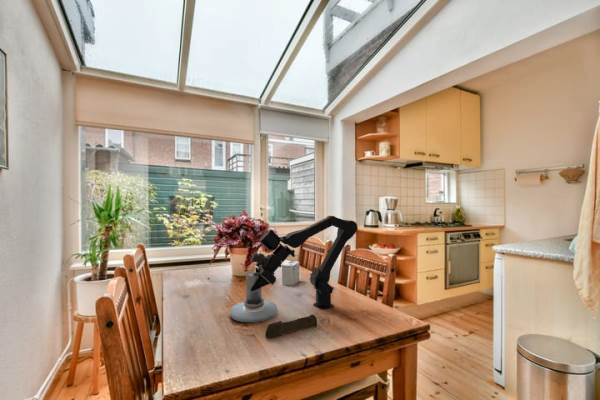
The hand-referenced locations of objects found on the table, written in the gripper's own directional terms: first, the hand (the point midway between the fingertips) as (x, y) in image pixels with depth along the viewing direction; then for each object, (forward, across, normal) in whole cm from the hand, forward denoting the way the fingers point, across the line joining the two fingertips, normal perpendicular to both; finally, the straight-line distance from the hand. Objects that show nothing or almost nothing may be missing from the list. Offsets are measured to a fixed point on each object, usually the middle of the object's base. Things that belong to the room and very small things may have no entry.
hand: (250, 288), depth 111 cm
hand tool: (-1, +20, +16) cm, 25 cm away
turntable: (+6, 0, +8) cm, 10 cm away
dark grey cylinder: (+4, 0, +6) cm, 7 cm away
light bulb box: (-10, -38, +26) cm, 47 cm away
